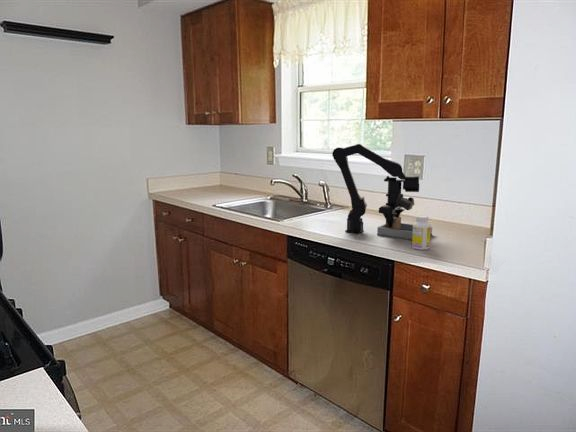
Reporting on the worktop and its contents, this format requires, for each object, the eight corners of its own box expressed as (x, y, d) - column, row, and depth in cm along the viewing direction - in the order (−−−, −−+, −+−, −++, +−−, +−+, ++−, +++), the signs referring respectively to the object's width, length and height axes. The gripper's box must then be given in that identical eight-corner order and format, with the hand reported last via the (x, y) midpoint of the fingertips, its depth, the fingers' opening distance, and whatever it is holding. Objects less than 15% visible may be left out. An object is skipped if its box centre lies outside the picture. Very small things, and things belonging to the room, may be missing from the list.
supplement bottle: (426, 245, 174) (427, 214, 171) (432, 250, 167) (433, 217, 165) (409, 245, 174) (411, 214, 171) (414, 250, 167) (416, 218, 164)
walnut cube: (385, 228, 193) (385, 217, 192) (390, 226, 197) (390, 215, 196) (396, 230, 190) (396, 219, 189) (400, 228, 194) (401, 217, 193)
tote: (377, 234, 191) (377, 227, 190) (390, 228, 202) (390, 221, 201) (420, 241, 179) (421, 233, 179) (431, 234, 190) (432, 227, 189)
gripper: (403, 196, 178) (402, 232, 181) (419, 190, 192) (418, 224, 196) (378, 193, 184) (377, 229, 188) (396, 188, 199) (394, 221, 202)
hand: (392, 226), depth 193 cm, fingers closed on walnut cube, 5 cm apart
